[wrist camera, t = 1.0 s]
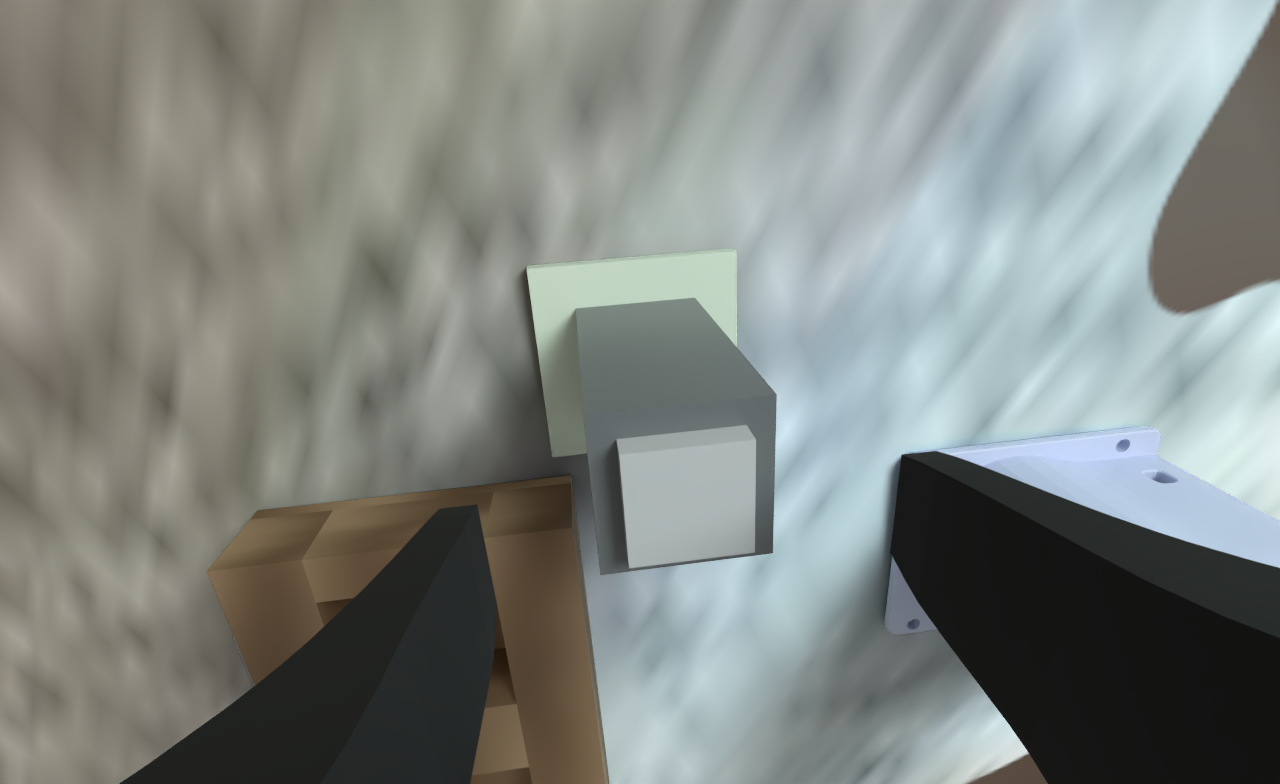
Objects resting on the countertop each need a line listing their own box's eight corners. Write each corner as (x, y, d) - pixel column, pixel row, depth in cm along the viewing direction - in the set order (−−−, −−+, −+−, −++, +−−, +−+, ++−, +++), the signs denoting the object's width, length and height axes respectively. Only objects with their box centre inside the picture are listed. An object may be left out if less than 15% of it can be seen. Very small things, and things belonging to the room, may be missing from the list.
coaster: (731, 248, 18) (736, 251, 17) (733, 430, 20) (736, 437, 20) (527, 265, 17) (526, 269, 17) (552, 450, 20) (552, 457, 19)
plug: (694, 297, 18) (787, 407, 10) (698, 405, 19) (782, 572, 12) (575, 308, 18) (583, 429, 10) (587, 417, 19) (602, 595, 11)
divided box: (571, 474, 20) (572, 527, 17) (610, 795, 26) (616, 871, 24) (251, 511, 19) (198, 572, 17) (369, 833, 26) (345, 916, 23)
